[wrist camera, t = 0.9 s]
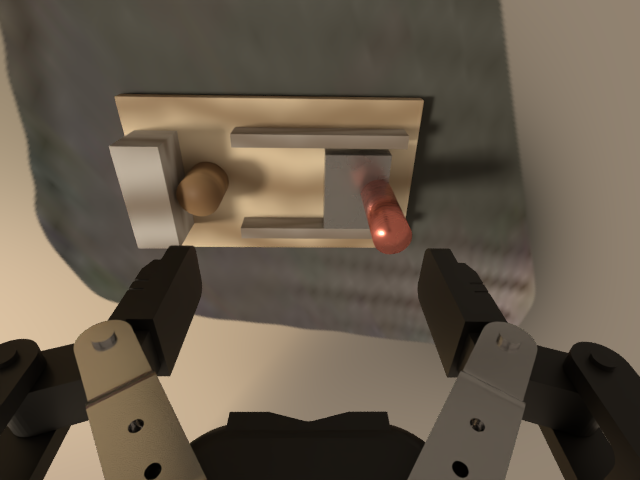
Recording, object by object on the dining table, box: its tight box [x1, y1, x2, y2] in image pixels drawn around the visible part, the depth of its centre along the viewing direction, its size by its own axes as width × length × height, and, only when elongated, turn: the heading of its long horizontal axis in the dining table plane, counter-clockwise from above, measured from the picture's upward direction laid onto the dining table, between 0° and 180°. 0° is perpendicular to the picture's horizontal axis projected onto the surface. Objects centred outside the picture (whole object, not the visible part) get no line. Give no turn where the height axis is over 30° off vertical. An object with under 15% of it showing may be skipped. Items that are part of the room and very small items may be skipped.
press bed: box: [109, 94, 424, 248], centre depth 36 cm, size 16×28×6 cm, turn 89°
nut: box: [176, 162, 229, 216], centre depth 36 cm, size 4×4×4 cm
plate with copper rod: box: [323, 148, 412, 254], centre depth 33 cm, size 8×6×11 cm
